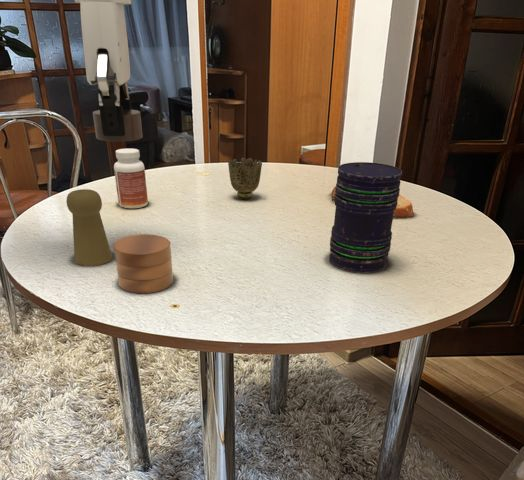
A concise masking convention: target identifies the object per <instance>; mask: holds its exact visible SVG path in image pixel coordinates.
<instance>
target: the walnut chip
mask: <svg viewBox="0 0 524 480" xmlns="http://www.w3.org/2000/svg"><path fill="white" fill-rule="evenodd" d="M141 115H142V114H141V111H139V110H137V109H132V108H131V109H123V116H124V124H125V135H124V136H104V135H103V131H102V124H101V116H100V109H98V110H97V109H96V110H94V111H92V117H93V125H94V132H95V138H96V139H97V140H99V141H102V142H103V141H104V142H119V143H120V142H132V141H138V140H141V139H143V136H144V135H143V126H142V116H141Z"/></svg>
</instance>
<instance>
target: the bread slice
mask: <svg viewBox="0 0 524 480" xmlns="http://www.w3.org/2000/svg"><path fill="white" fill-rule="evenodd" d="M335 188H336V185H335V186H334V187H333V189H332V191H331V198H332V199H333V200H334V198H335V194H336V193H335ZM397 203H398V204H397V207H396V209H395V210H394V215H393V218H399V219H400V218H401V219H402V218H411V217H413V216H414V215H415V212H414V207H413V203H412V200H409V199H408V198H406V197H405V196H403V195H402V194H400V193H399V197H398V201H397Z"/></svg>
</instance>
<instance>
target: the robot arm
mask: <svg viewBox="0 0 524 480" xmlns="http://www.w3.org/2000/svg"><path fill="white" fill-rule="evenodd" d="M74 3H76V4H79V6H80V7H79V8H80V26H81V37H82V47H83V55H84V66H85V73H86V81H87V83H88V84H89V85H90V86H95V85H97V92H98V93H97V95H98V105H99V106H98V108H99V109H98V110H100V116H101V124H102V131H103V135H104V136H124V135H125V124H124V116H123V109H131V110H132V104H131V99H130V91H129V86H128V81H130V79H131V62H130V61H131V60H130V50H129V41H128V40H129V39H128V33H127V32H128V31H127V21H126V16H125V15H126V14H125V8H124V7H125V6H124V5H132V0H74Z"/></svg>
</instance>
